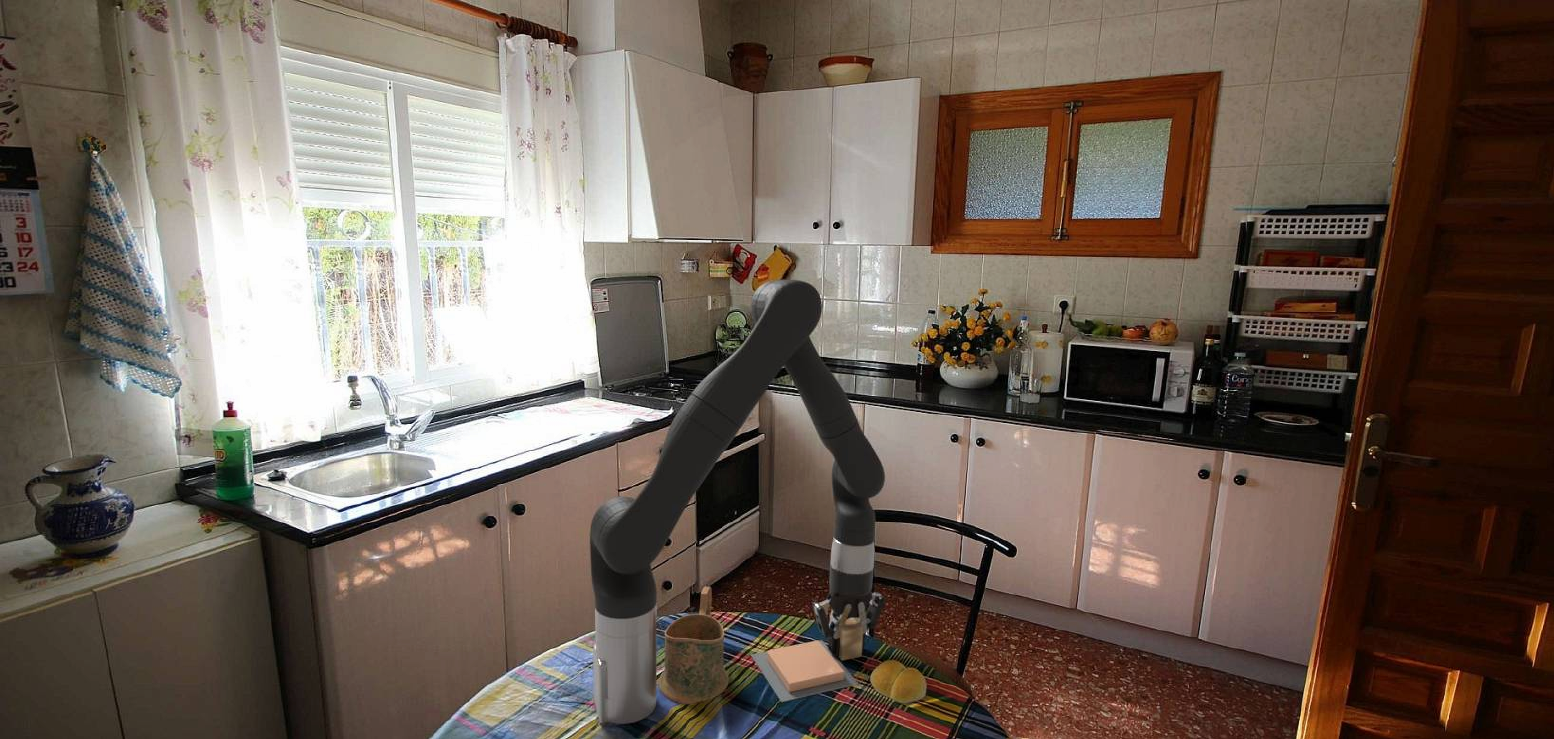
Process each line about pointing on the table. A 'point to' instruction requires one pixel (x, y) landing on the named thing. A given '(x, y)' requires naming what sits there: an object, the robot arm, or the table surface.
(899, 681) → the bread roll
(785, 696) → the mat
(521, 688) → the table surface
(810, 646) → the tile
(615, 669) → the robot arm
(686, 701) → the mug
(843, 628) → the block
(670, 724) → the table surface
